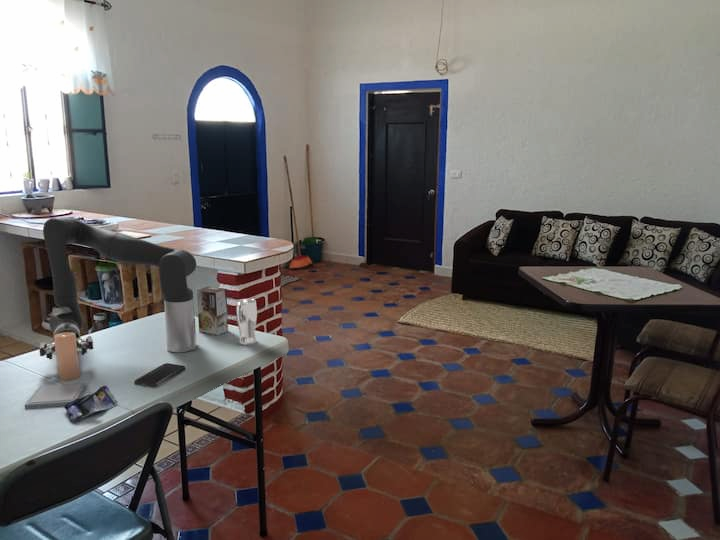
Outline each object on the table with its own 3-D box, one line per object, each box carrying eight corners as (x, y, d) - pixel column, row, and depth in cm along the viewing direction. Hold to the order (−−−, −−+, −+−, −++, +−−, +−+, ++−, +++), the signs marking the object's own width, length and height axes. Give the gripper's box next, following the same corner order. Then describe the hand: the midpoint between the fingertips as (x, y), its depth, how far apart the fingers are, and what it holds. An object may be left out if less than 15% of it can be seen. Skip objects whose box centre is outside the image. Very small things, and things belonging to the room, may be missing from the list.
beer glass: (259, 339, 197) (259, 298, 193) (254, 346, 190) (253, 304, 186) (240, 338, 197) (239, 298, 194) (234, 345, 190) (233, 303, 187)
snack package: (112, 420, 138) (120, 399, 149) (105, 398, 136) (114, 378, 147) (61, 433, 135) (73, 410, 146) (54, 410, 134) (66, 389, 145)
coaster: (86, 385, 156) (86, 381, 156) (75, 404, 145) (74, 400, 145) (40, 389, 154) (39, 385, 154) (24, 408, 142) (24, 404, 142)
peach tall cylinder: (82, 372, 165) (77, 331, 162) (77, 379, 160) (72, 337, 157) (62, 373, 164) (57, 332, 161) (56, 381, 159) (51, 338, 156)
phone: (186, 366, 170) (155, 385, 156) (187, 369, 170) (155, 389, 156) (165, 362, 172) (132, 381, 158) (165, 366, 172) (132, 385, 158)
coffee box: (229, 330, 205) (227, 288, 202) (217, 335, 199) (216, 292, 196) (209, 327, 209) (207, 285, 205) (198, 331, 203) (195, 289, 200)
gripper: (39, 328, 171) (37, 345, 157) (90, 322, 177) (92, 338, 163) (42, 351, 173) (40, 370, 158) (92, 344, 179) (94, 362, 165)
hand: (66, 353), depth 161 cm, fingers open, 8 cm apart
